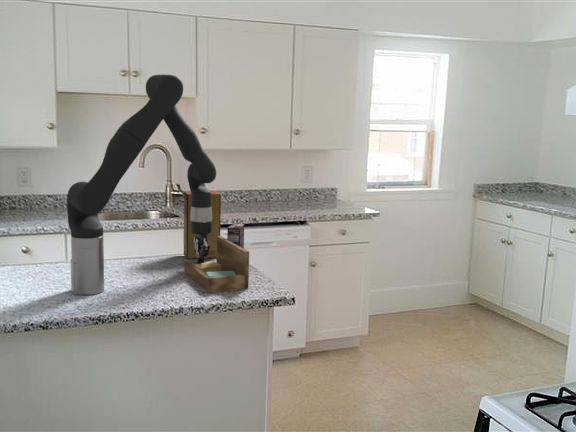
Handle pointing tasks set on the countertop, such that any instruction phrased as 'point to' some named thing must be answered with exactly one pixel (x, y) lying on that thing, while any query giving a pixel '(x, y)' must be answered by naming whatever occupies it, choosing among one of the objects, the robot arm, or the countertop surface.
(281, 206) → the countertop surface
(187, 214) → the food packaging
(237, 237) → the supplement box
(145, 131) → the robot arm
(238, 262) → the book rack
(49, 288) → the countertop surface
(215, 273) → the book block
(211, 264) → the ochre book block
